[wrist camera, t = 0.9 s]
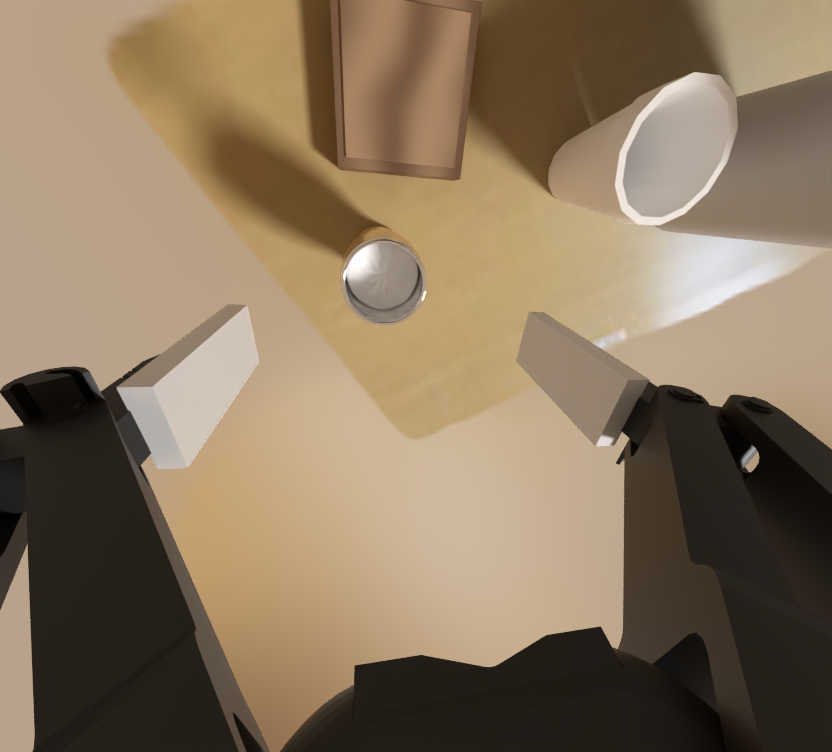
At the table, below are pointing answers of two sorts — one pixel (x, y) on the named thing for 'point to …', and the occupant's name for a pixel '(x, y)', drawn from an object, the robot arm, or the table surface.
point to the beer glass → (382, 277)
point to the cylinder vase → (773, 170)
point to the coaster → (403, 84)
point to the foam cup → (650, 153)
